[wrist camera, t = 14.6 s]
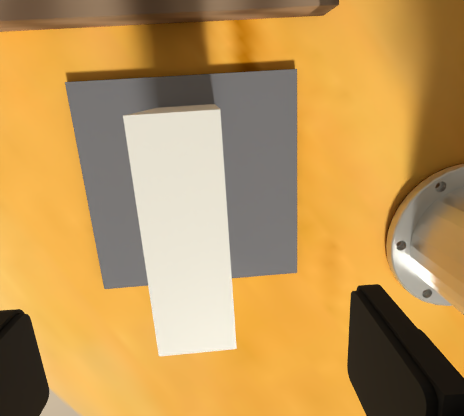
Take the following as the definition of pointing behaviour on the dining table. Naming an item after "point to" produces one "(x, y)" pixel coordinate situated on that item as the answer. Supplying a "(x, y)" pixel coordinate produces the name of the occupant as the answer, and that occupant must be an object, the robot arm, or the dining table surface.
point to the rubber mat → (235, 165)
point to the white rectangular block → (183, 225)
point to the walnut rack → (147, 12)
